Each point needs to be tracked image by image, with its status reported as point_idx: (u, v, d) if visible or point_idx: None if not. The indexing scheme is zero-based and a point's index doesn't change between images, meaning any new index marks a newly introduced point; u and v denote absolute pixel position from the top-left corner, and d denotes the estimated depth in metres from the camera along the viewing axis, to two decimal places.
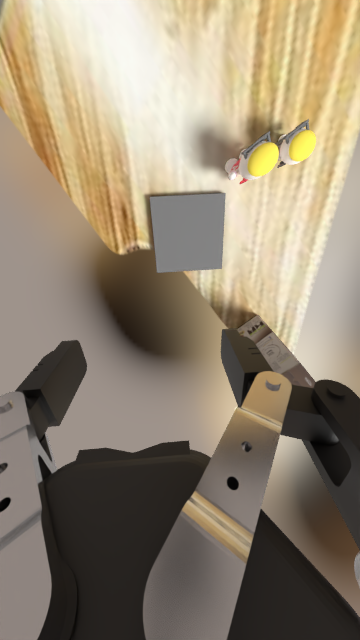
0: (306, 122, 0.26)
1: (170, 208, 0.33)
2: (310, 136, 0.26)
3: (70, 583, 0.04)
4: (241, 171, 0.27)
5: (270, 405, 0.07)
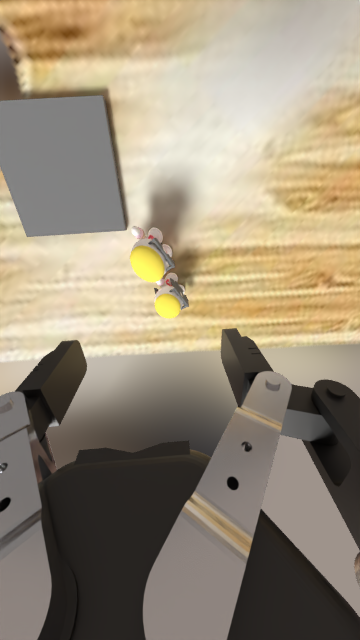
0: (186, 305, 0.26)
1: (93, 138, 0.21)
2: (174, 311, 0.26)
3: (70, 583, 0.04)
4: None
5: (270, 405, 0.07)
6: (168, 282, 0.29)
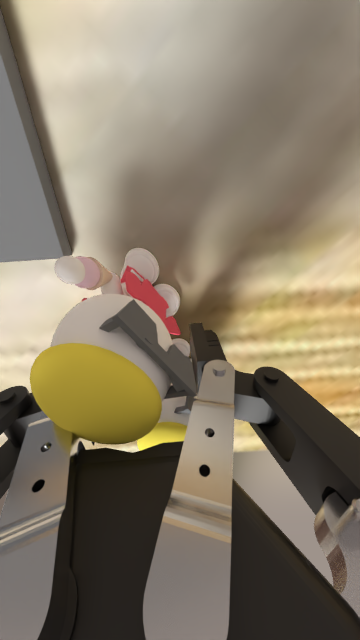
0: None
1: None
2: None
3: (70, 583, 0.04)
4: (71, 310, 0.06)
5: (221, 390, 0.07)
6: None
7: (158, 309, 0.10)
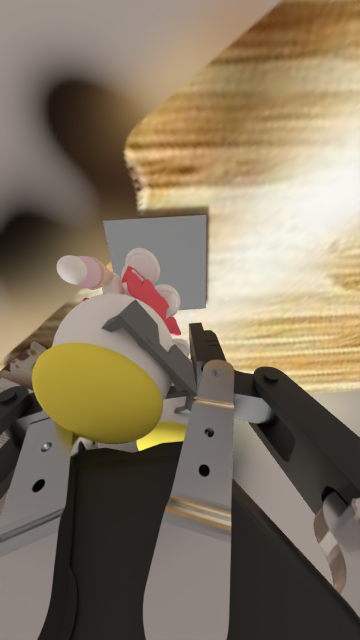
0: None
1: (192, 244, 0.26)
2: None
3: (70, 583, 0.04)
4: (73, 310, 0.06)
5: (220, 390, 0.07)
6: None
7: (159, 309, 0.10)
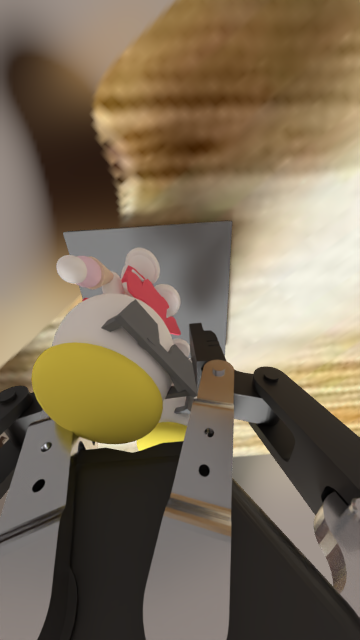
0: None
1: (208, 267, 0.16)
2: None
3: (70, 583, 0.04)
4: (73, 310, 0.06)
5: (220, 390, 0.07)
6: None
7: (159, 309, 0.10)
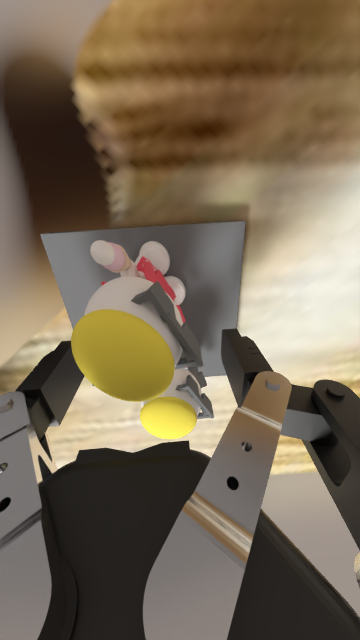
0: (209, 415, 0.12)
1: (215, 275, 0.14)
2: (183, 432, 0.12)
3: (70, 583, 0.04)
4: (103, 286, 0.08)
5: (270, 405, 0.07)
6: None
7: None
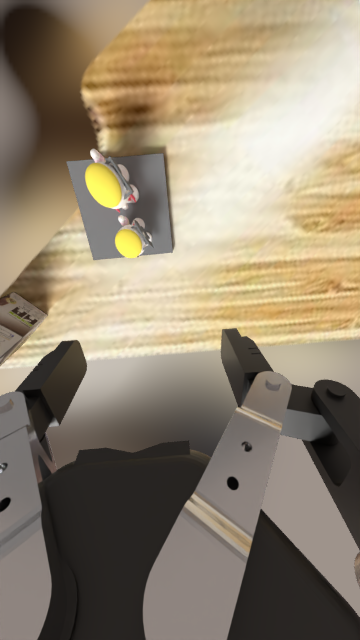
0: (148, 244, 0.26)
1: (153, 184, 0.27)
2: (135, 249, 0.25)
3: (70, 583, 0.04)
4: None
5: (270, 405, 0.07)
6: None
7: None
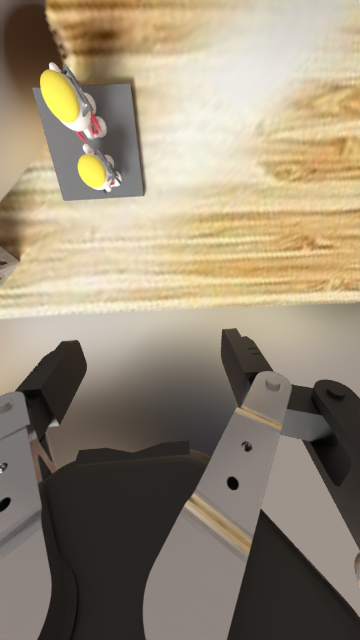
0: (112, 174, 0.26)
1: (121, 118, 0.27)
2: (98, 176, 0.25)
3: (70, 583, 0.04)
4: None
5: (270, 405, 0.07)
6: None
7: (90, 113, 0.25)
